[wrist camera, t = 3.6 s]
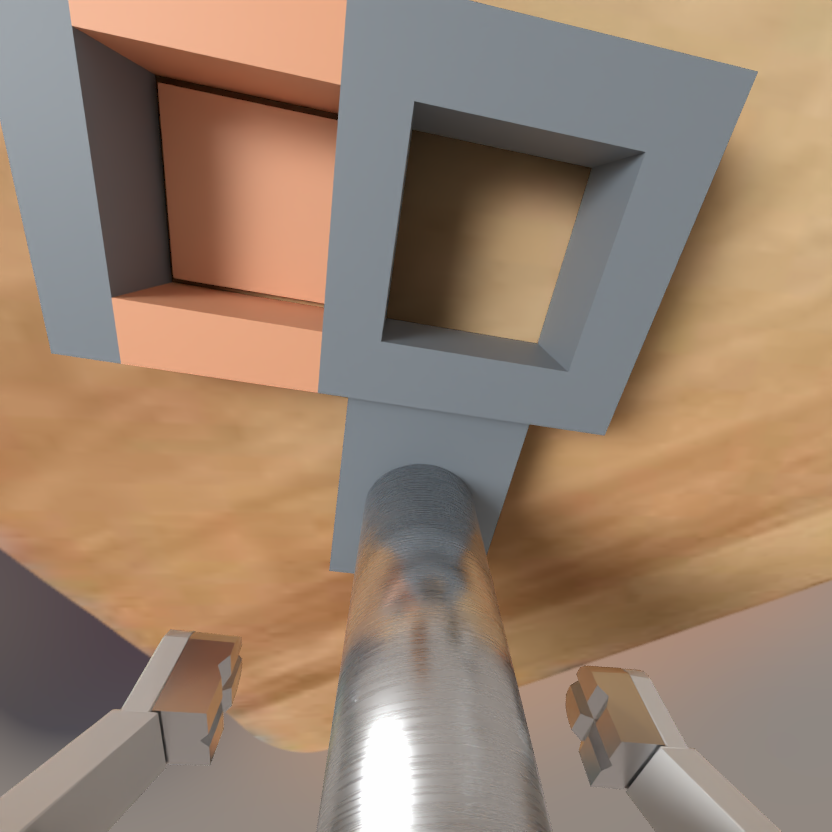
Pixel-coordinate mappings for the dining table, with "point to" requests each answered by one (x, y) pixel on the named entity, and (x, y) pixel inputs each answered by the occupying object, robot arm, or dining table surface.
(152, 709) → the robot arm
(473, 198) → the dining table surface
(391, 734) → the peg
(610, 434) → the dining table surface
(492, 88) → the rack
